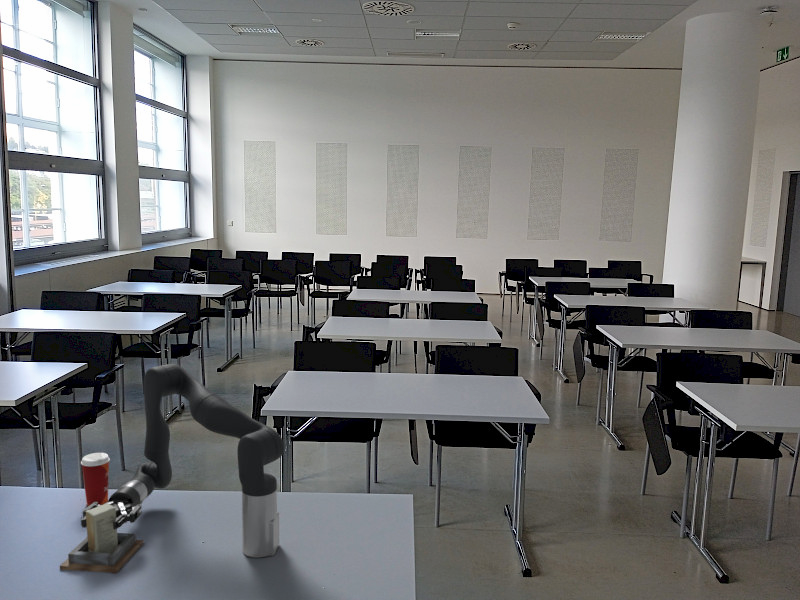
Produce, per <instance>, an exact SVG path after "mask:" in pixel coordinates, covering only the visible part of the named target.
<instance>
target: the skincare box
mask: <svg viewBox="0 0 800 600" xmlns="http://www.w3.org/2000/svg"><path fill="white" fill-rule="evenodd" d="M116 519H117V518H116V510H115V507H114V506H112V505H110V504H108V503H106V504H103V505H100V506H98V507H95V508H93V509H90V510H87V511H86V523H87V526H86V533H87V534H86V535H87V536H86V537H88V552H96V553H111V552H113V551H114V550H115V549H116V548H117V547H118V540H117V533H118V529H113V522H114V521H115V520H116Z"/></svg>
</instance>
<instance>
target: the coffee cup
mask: <svg viewBox="0 0 800 600" xmlns="http://www.w3.org/2000/svg"><path fill="white" fill-rule="evenodd" d="M110 461H111V458H110V456H109V455H108V453H106V452H93V453H88V454H86V455H85V456H83V457H82V458H81V460H80V465H81V467H82V475H83V484H84V493H85V500H86V505H87V507H88V506H90V505H91V504H92V503H94V502H98V505H103V504H105V503H107V502H108V500H109V477H110V476H109V475H110V474H109V473H110V471H109V470H110V469H109V466H110Z"/></svg>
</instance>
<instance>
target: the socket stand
mask: <svg viewBox="0 0 800 600" xmlns="http://www.w3.org/2000/svg"><path fill="white" fill-rule="evenodd" d="M136 538H137V537H136V533H129V532H128V533H125V532H117V540H118V547H117V548H116V549H115V550H114V551H113V552H111V553H96V552H88V537H87V536H86V537H85V538H84V539H83V540H82V541H81V542H80V543H79V544H77V546H75V547H74V548H73V549H72V550H71V551H70V552H69V553H68V554H67V556H68V557H67V558H66V559H65V561H63V562H62V563H61V564H60V565H59V570H60V571H63V570H64V571H76V572H77V571H79V572H93V573H109V574H111V573H112V574H117V573H118V572H119V571H120V570H121V569H122V568H123V567H124V566H125V565H126V564H127V563H128V562H129V561H130V560H131V558H132V557H133V556H134V555H135V554H136V553H137V551H138V550H139V549H140V548H141V547H142V546H143V545H144V542H145V541H144V539H136Z"/></svg>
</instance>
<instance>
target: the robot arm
mask: <svg viewBox="0 0 800 600" xmlns="http://www.w3.org/2000/svg"><path fill="white" fill-rule="evenodd" d="M172 395H179V396H181V397H183V398H184V399H185V400H186V401H188V406H189V407H188V408H189V413H190V415H191V417H192V418H193V420H194V421H195V422H197V423H198V424H199V425H201V426H202V427H204V428H205V429H207V431H210V432H212V433H215V434H218V435H223V436H227V437H231V438H237V439H239V441H238V444H237V451H236V452H237V466H238V467H237V468H238V478H239V482H240V485H241V511H242V512H241V513H242V514H241V515H242V517H241V520H242V524H241V525H242V526H241V528H242V529H241V530H242V531H241V532H242V552H243V554H244V555H245V556H247V557H250V558H265V557H270V556H271V557H272V556H274V555H276V552H277V550H278V548H279V546H280V512H278V481H277V478H276V476H274V475H273V474H271V473H266V472H265V468H264V466H266V465H268V464H269V465H270V464H271V463H273V462H275V461H277V460H278V459H280V458H281V457H282V456H283V455H284V452H285V443H284V440H283V438H282V437H281V435H280V434H279V433H278V432H277V431H276V430H274V429H273V428H272V427H270V426H268V425H266V424H264V423H262V422H260V421H258V420H257V419H254V418H252V417H251V416H249V415H247V414H246V413H245V412H243V411H241V410H240V409H238V408H236V407H235V406H233V404H231V403H229V402H228V401H227V400H225V399H224V398H223V397H221V396H219V395H218V394H216V393H215V392H213V391H211V389H209V388H207V387H206V386H205V385H204V384H202V383H201V382H199V381H198V380H197V379H196V378H195V377H194V376H192V374H190V373H189V372H188V371H187V370H186V369H184V368H183V367H182V366H181V365H179V364H176V363H168V364H163V365H158V366H153V367H150V368H148V369H147V370H146V371H145V373H144V377H143V397H144V399H143V400H144V412H145V424H146V425H145V426H146V429H145V439H144V440H145V441H144V450H143V452H144V453H143V455H144V457H145V458H146V459H147V460H149V461H144V462H141V464H139V465H138V467H137V469H136V472H135V474H134V476H133V478H131V479H130V480H129V481H128V482H126V483H124V484H123V485H121V486H120V487H119V488H118V489H117V490H115V492H113V493H112V494H111V495H110V497H108V502H107V503H108V504H110V505H112V506H114V507H115V510H116V520H115V521H114V522H113V529H117V530H118V529H119V528H121V527H122V526H123V525H124V524H127V523H128V522H129V523H130V524H131V523H132V524H133V523H135V522H136V521H137V520H138V518H140V516H141V515H142V514H143V513H142V512H143V507H142V504H143V503H144V502H145V500H146V499H147V498H148V497H149V496H150V495H151V494H152V492H154V489H155V488H156V489H165V488H167V487H168V486H169V485H170V483H171V481H172V479H173V469H172V464H171V459H170V454H169V449H170V442H171V441H170V440H171V430H170V427H169V425H168V423H167V421H166V419H165V418H164V415H163V414H162V410H161V403H162V398H164V397H168V396H172ZM105 504H106V503H105ZM98 506H100V505H98V502H94V503H92V504H91V505H90V506H88V505H87V507H86V508H84V509H83V510H82V518H81V519H80V522H81V523H80V524H81V525H80V526H81V528H87V523H86V511H87V510H90V509H93V508H95V507H98Z"/></svg>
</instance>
